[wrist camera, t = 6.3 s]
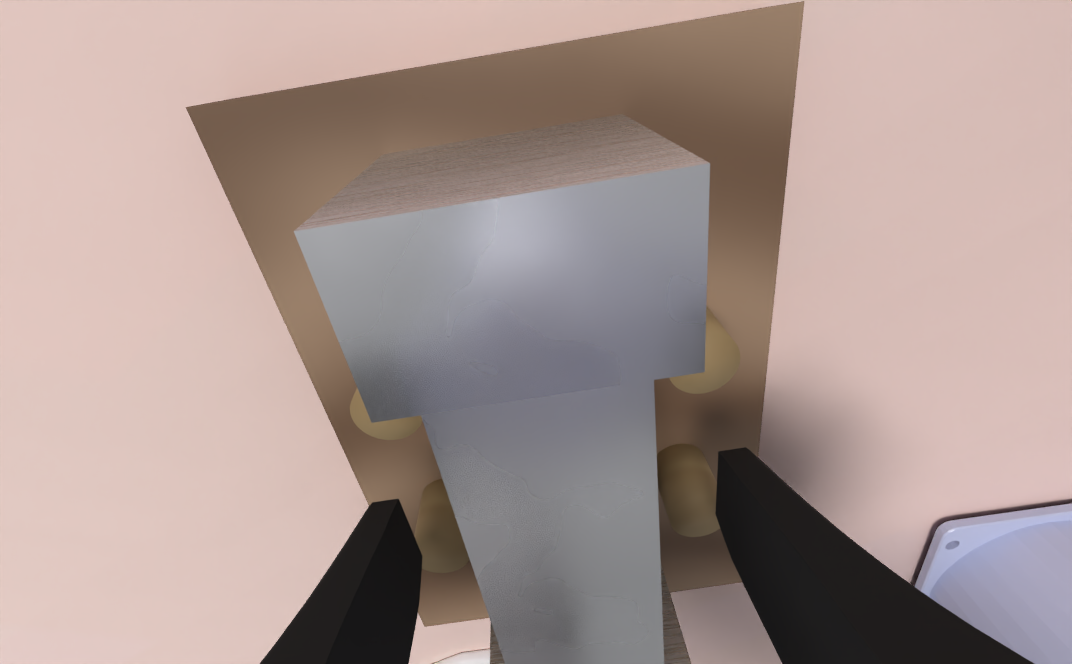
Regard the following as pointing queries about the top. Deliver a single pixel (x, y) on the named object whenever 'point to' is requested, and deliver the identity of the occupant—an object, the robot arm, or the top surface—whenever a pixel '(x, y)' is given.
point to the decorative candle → (468, 658)
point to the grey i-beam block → (533, 359)
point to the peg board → (517, 105)
